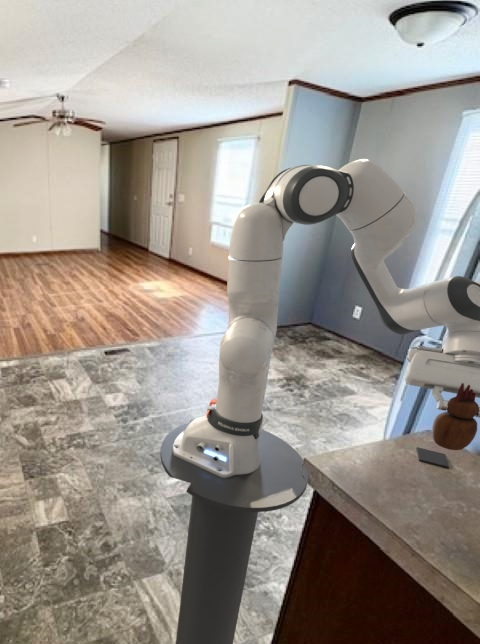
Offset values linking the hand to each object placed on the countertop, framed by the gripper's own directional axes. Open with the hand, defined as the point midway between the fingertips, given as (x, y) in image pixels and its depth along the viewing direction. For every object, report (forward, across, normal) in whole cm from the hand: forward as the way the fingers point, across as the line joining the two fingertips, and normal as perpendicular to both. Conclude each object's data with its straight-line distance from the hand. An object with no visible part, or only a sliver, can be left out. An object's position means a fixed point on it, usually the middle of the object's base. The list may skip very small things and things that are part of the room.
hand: (461, 413), depth 86 cm
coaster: (+3, +2, +27) cm, 28 cm away
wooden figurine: (+6, 0, +6) cm, 9 cm away
